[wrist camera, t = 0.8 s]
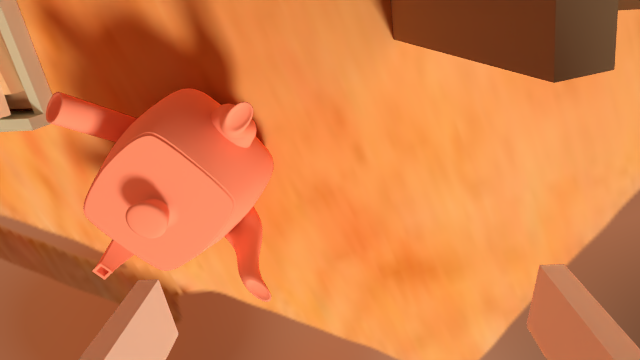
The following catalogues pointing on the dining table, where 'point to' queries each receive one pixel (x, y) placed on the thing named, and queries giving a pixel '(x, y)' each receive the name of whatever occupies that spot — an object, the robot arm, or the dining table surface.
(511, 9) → the book
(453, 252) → the dining table surface
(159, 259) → the teapot
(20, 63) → the rack
